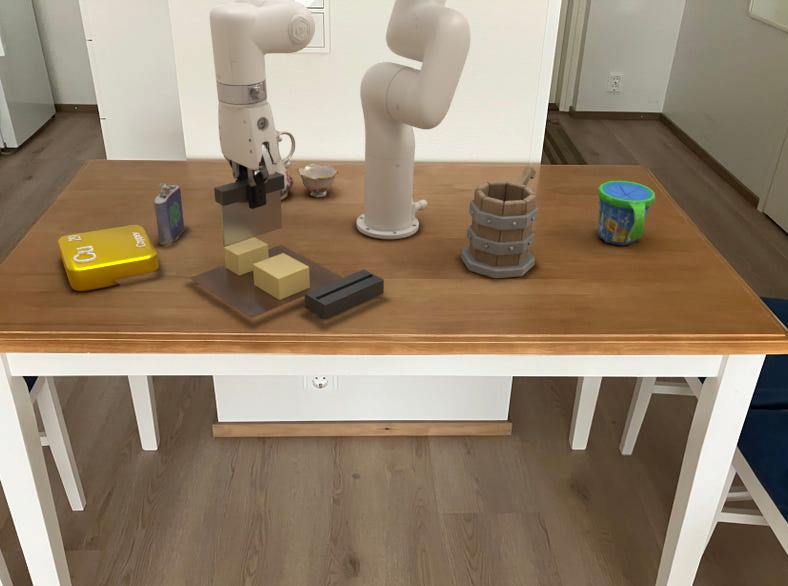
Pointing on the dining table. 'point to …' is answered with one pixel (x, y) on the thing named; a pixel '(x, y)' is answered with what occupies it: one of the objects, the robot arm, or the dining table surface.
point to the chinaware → (304, 173)
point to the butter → (281, 276)
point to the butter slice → (245, 255)
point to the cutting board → (252, 297)
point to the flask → (169, 214)
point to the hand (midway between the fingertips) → (251, 202)
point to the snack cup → (623, 211)
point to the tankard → (502, 228)
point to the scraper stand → (344, 293)
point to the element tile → (106, 256)
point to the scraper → (249, 210)
